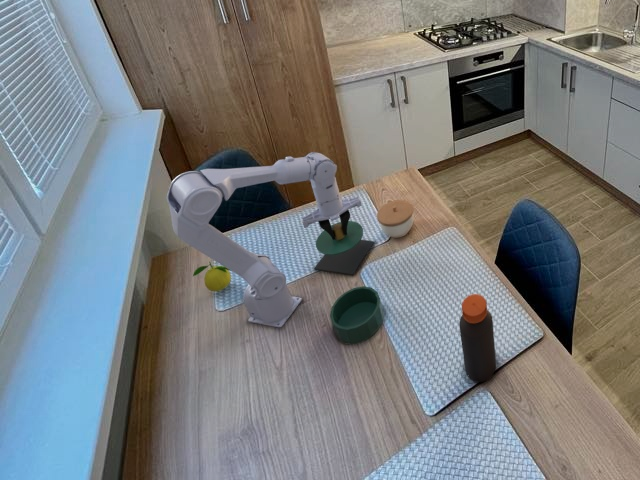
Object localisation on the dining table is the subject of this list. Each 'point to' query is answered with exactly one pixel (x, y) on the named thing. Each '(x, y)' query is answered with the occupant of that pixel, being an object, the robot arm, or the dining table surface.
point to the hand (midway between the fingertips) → (339, 235)
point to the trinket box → (396, 218)
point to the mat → (346, 259)
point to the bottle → (477, 338)
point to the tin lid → (339, 239)
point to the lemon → (215, 277)
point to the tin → (357, 315)
